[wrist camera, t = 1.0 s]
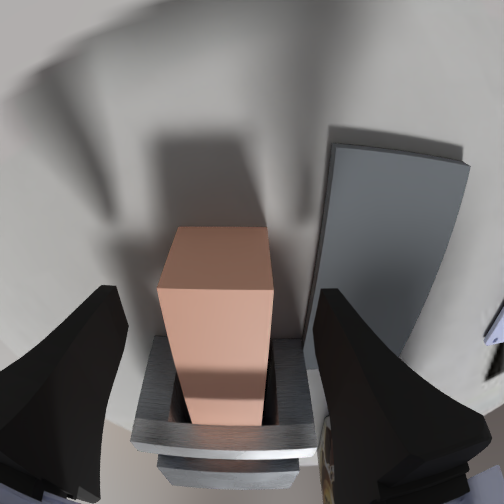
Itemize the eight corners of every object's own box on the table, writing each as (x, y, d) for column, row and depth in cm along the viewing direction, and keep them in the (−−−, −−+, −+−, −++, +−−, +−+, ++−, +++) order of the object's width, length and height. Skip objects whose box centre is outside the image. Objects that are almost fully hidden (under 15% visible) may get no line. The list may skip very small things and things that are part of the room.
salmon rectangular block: (266, 224, 13) (273, 289, 9) (257, 381, 19) (259, 438, 15) (179, 224, 13) (156, 288, 9) (201, 380, 19) (196, 436, 15)
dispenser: (301, 338, 16) (317, 447, 11) (281, 427, 22) (286, 498, 17) (154, 335, 16) (130, 441, 11) (183, 425, 22) (176, 495, 17)
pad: (462, 161, 11) (470, 166, 10) (393, 354, 17) (395, 361, 17) (332, 143, 11) (336, 147, 10) (297, 361, 17) (298, 369, 17)
